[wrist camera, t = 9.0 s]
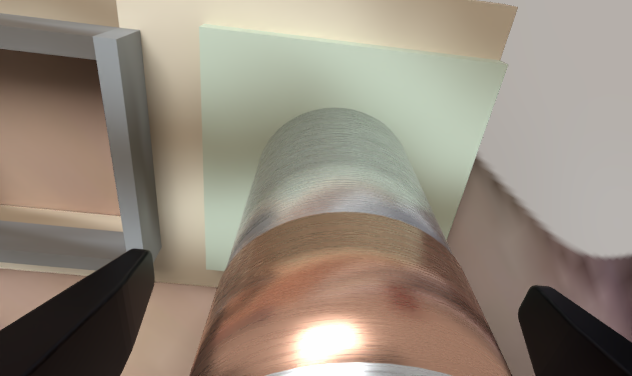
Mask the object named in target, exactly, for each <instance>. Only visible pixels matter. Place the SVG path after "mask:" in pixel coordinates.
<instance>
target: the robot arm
mask: <svg viewBox="0 0 632 376" xmlns="http://www.w3.org/2000/svg"><path fill="white" fill-rule="evenodd" d="M154 282H155V274H154V265H153V257H152V253H151V251H150V250H146V249H136V248H134V249H130V250H128V251H127V252H125V253H124V254H122V255H120V256H119V257H117V258H116V259H114V260H112V261H111V262H109V263H108V264H106V265H104V266H103V267H101V268H100V269H98V270H96V271H95V272H93V273H92V274H90V275H88V276H87V277H85V278H84V279H82V280H80V281H79V282H77V283H76V284H74V285H72V286H71V287H69V288H68V289H66V290H64V291H63V292H61V293H60V294H58V295H56V296H55V297H53V298H52V299H50V300H48V301H47V302H45V303H44V304H42V305H40V306H39V307H37V308H36V309H34V310H32V311H31V312H29V313H28V314H26V315H24V316H23V317H21V318H20V319H18V320H16V321H15V322H13V323H12V324H10V325H8V326H7V327H5V328H4V329H2V330H0V376H120V375H121V373H122V371H123V369H124V367H125V364H126V362H127V360H128V358H129V356H130V353H131V351H132V349H133V346H134V343H135V340H136V338H137V335H138V332H139V329H140V326H141V323H142V320H143V317H144V314H145V311H146V308H147V305H148V302H149V299H150V296H151V293H152V290H153V287H154ZM518 318H519V322H520V326H521V329H522V332H523V336H524V339H525V342H526V346H527V349H528V353H529V356H530V359H531V363H532V366H533V369H534V372H535V375H536V376H632V342H630V341H629V340H627V339H626V338H624V337H623V336H621V335H620V334H619V333H617V332H616V331H614V330H613V329H611V328H610V327H608V326H607V325H606V324H604V323H603V322H601V321H600V320H598V319H597V318H595V317H594V316H592V315H591V314H590V313H588V312H587V311H585V310H584V309H582V308H581V307H579V306H578V305H577V304H575V303H574V302H572V301H571V300H569V299H568V298H566V297H565V296H564V295H562V294H561V293H559V292H558V291H556V290H555V289H553V288H551V287H548V286H538V285H535V286H532V287H531V288H530V289H529V290H528V292H527V294H526V296H525V298H524V300H523V302H522V304H521V306H520V308H519V311H518Z"/></svg>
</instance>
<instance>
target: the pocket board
mask: <svg viewBox="0 0 632 376" xmlns="http://www.w3.org/2000/svg"><path fill="white" fill-rule="evenodd" d="M517 9H518V7H515V6H510V5H506V4H500V3H492V2H485V1H477V0H0V49H7V50H16V51H24V52H33V53H41V54H50V55H58V56H67V57H75V58H84V59H93V60H96V61H97V67H98V74H99V80H100V87H101V93H102V99H103V106H104V112H105V119H106V125H107V131H108V138H109V144H110V150H111V157H112V163H113V170H114V176H115V182H116V189H117V195H118V201H119V208H120V214H121V216H113V215H102V214H92V213H81V212H71V211H60V210H50V209H40V208H29V207H19V206H8V205H0V268H2V269H14V270H25V271H37V272H48V273H59V274H71V275H82V276H88V275H90V274H92V273H93V272H95V271H96V270H98V269H100V268H101V267H103V266H104V265H106V264H108V263H109V262H111V261H112V260H114V259H116V258H117V257H119V256H120V255H122V254H124V253H125V252H127V251H128V250H130V249H134V248H136V249H146V250H150V251H151V253H152V257H153V265H154V274H155V282H163V283H174V284H185V285H197V286H208V287H218V284H219V281H220V279H221V277H222V275H223V273H224V271H225V269H226V267H227V264H228V260H229V257H230V254H231V251H232V248H233V244H234V241H235V238H236V235H237V231H238V228H239V225H240V222H241V218H242V215H243V212H244V209H245V205H246V202H247V199H248V196H249V192H250V189H251V186H252V183H253V179H254V176H255V173H256V170H257V167H258V163H259V160H260V157H261V154H262V152H263V150H264V147H265V146H266V144H267V143H268V141H269V139H270V138H271V137H272V136H273V135H274V133H275V132H276V131H277V130H278V129H279V128H281V127H282V126H283V125H284V124H286V123H287V122H288V121H290V120H291V119H293V118H295V117H297V116H299V115H301V114H304V113H307V112H310V111H313V110H318V109H323V108H346V109H352V110H356V111H360V112H363V113H366V114H368V115H370V116H372V117H374V118H376V119H378V120H379V121H381V122H382V123H384V124H385V125H386V126H387V127H388V128H389V129H391V130H392V132H393V133H394V134H395V135H396V136H397V137H398V139H399V141H400V142H401V144H402V145H403V148H404V150H405V152H406V154H407V156H408V158H409V161H410V163H411V165H412V167H413V169H414V172H415V174H416V176H417V178H418V180H419V182H420V185H421V187H422V189H423V191H424V193H425V196H426V198H427V200H428V202H429V204H430V206H431V209H432V211H433V213H434V215H435V217H436V219H437V222H438V224H439V226H440V228H441V230H442V233H443V235H444V237H445V239H446V240H447V237H448V234H449V232H450V229H451V226H452V223H453V220H454V217H455V215H456V212H457V209H458V206H459V203H460V200H461V198H462V195H463V192H464V189H465V186H466V183H467V181H468V178H469V175H470V172H471V169H472V166H473V163H474V161H475V158H476V155H477V152H478V149H479V146H480V144H481V141H482V138H483V135H484V132H485V129H486V126H487V124H488V121H489V118H490V115H491V112H492V109H493V106H494V103H495V101H496V98H497V95H498V92H499V90H500V87H501V84H502V81H503V78H504V75H505V73H506V70H507V66H508V64H506V63H504V62H502V61H500V59H501V56H502V53H503V50H504V47H505V44H506V41H507V38H508V35H509V32H510V29H511V26H512V23H513V21H514V18H515V15H516V12H517Z"/></svg>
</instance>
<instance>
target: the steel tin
mask: <svg viewBox="0 0 632 376" xmlns="http://www.w3.org/2000/svg"><path fill="white" fill-rule="evenodd" d="M190 376H512V374H511V372H510V370H509V368H508V366H507V364H506V361H505V359H504V357H503V355H502V353H501V351H500V349H499V347H498V344H497V342H496V340H495V338H494V336H493V334H492V332H491V329H490V327H489V325H488V323H487V321H486V319H485V317H484V315H483V312H482V310H481V308H480V306H479V304H478V302H477V300H476V297H475V295H474V293H473V291H472V289H471V287H470V285H469V283H468V280H467V278H466V276H465V274H464V272H463V270H462V268H461V266H460V265H459V263H458V262H457V260H456V259H455V257H454V256H453V254H452V252H451V250H450V248H449V246H448V243H447V241H446V239H445V237H444V235H443V233H442V230H441V228H440V226H439V224H438V222H437V219H436V217H435V215H434V213H433V211H432V209H431V206H430V204H429V202H428V200H427V198H426V196H425V193H424V191H423V189H422V187H421V185H420V182H419V180H418V178H417V176H416V174H415V172H414V169H413V167H412V165H411V163H410V161H409V158H408V156H407V154H406V152H405V150H404V148H403V145H402V144H401V142H400V141H399V139H398V137H397V136H396V135H395V134H394V133H393V132H392V130H391V129H389V128H388V127H387V126H386V125H385V124H384V123H382V122H381V121H379V120H378V119H376V118H374V117H372V116H370V115H368V114H366V113H363V112H360V111H356V110H352V109H346V108H323V109H318V110H313V111H310V112H307V113H304V114H301V115H299V116H297V117H295V118H293V119H291V120H290V121H288V122H287V123H286V124H284V125H283V126H282V127H281V128H279V129H278V130H277V131H276V132H275V133H274V135H273V136H272V137H271V138H270V139H269V141H268V143H267V144H266V146H265V147H264V150H263V152H262V154H261V157H260V160H259V163H258V167H257V170H256V173H255V176H254V179H253V183H252V186H251V189H250V192H249V196H248V199H247V202H246V205H245V209H244V212H243V215H242V218H241V222H240V225H239V228H238V231H237V235H236V238H235V241H234V244H233V248H232V251H231V254H230V257H229V260H228V264H227V267H226V269H225V271H224V273H223V275H222V277H221V279H220V281H219V284H218V287H217V290H216V294H215V297H214V300H213V303H212V306H211V309H210V313H209V316H208V319H207V322H206V325H205V328H204V331H203V335H202V338H201V341H200V344H199V347H198V350H197V354H196V357H195V360H194V363H193V366H192V369H191V372H190Z"/></svg>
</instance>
